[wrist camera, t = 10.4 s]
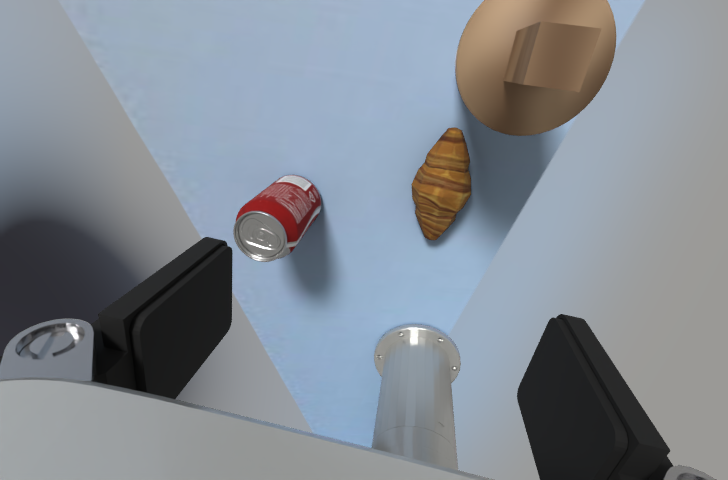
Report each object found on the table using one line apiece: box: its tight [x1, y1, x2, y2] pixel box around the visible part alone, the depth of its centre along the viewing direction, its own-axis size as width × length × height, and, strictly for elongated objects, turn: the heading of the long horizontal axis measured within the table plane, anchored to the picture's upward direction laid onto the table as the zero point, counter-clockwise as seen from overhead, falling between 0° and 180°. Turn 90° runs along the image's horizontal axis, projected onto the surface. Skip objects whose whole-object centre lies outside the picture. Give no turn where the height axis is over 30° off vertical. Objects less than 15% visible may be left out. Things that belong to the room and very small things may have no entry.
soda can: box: [234, 175, 321, 262], centre depth 42 cm, size 7×7×12 cm
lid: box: [455, 0, 616, 136], centre depth 24 cm, size 10×10×7 cm
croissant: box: [412, 128, 471, 240], centre depth 42 cm, size 14×7×5 cm, turn 173°
